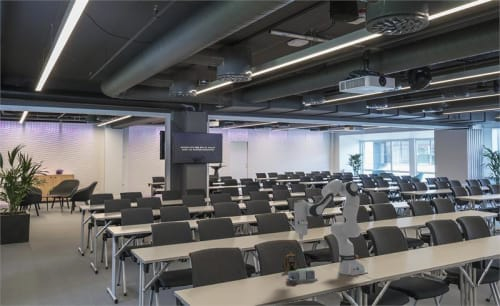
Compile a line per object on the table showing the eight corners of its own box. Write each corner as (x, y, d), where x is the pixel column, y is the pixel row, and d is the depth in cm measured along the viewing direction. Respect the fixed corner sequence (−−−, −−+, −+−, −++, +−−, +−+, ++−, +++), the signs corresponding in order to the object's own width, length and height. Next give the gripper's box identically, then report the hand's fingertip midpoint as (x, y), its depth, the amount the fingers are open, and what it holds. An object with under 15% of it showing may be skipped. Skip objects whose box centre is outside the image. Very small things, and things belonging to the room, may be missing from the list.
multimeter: (286, 274, 307) (284, 249, 308) (282, 271, 317) (281, 246, 318) (303, 273, 310) (302, 247, 311) (299, 270, 320) (298, 245, 321)
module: (297, 278, 290) (297, 269, 291) (304, 278, 291) (303, 268, 292) (299, 280, 286) (299, 270, 286) (306, 279, 287) (305, 269, 287)
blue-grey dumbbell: (314, 278, 294) (313, 268, 294) (317, 280, 287) (317, 270, 288) (286, 280, 290) (285, 270, 290) (288, 283, 283) (288, 273, 283)
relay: (297, 283, 282) (296, 278, 282) (296, 285, 278) (296, 279, 278) (288, 283, 283) (288, 277, 283) (288, 285, 279) (287, 279, 279)
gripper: (292, 219, 307) (293, 237, 307) (300, 222, 287) (301, 241, 286) (300, 219, 308) (300, 237, 308) (308, 222, 288) (309, 241, 288)
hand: (301, 239), depth 297 cm, fingers closed
